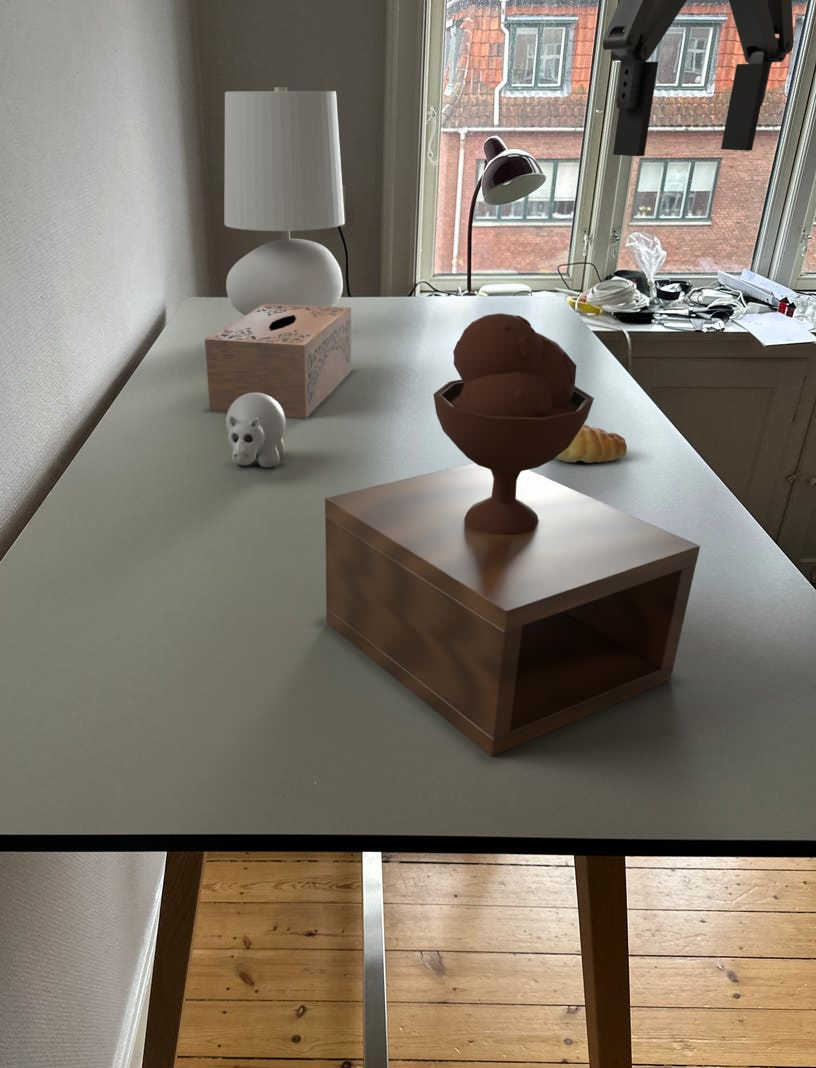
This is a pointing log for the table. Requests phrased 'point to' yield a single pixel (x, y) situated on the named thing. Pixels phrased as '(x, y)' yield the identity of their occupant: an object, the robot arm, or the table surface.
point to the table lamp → (283, 195)
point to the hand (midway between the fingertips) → (684, 153)
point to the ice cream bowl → (510, 411)
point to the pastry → (594, 446)
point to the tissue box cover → (280, 356)
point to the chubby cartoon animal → (256, 430)
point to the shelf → (505, 600)
